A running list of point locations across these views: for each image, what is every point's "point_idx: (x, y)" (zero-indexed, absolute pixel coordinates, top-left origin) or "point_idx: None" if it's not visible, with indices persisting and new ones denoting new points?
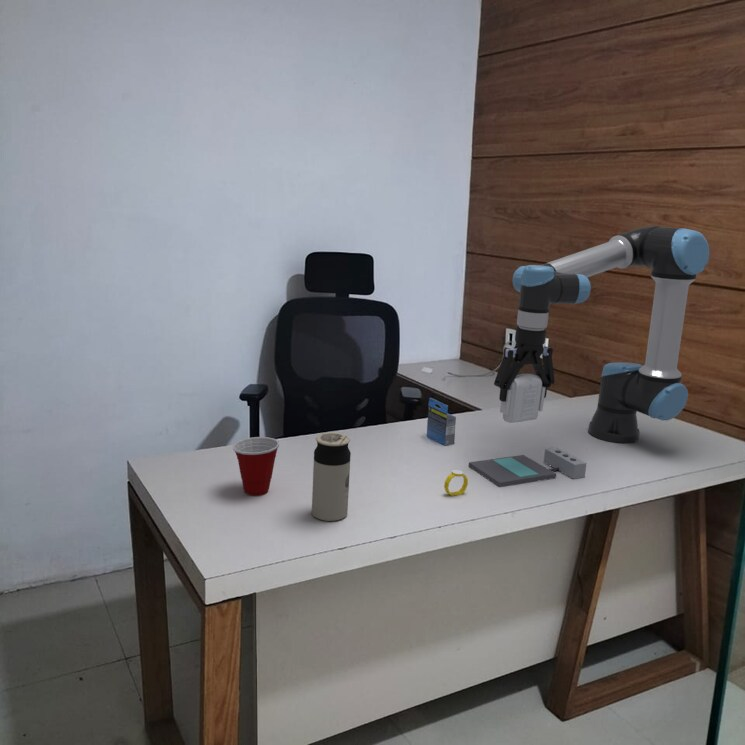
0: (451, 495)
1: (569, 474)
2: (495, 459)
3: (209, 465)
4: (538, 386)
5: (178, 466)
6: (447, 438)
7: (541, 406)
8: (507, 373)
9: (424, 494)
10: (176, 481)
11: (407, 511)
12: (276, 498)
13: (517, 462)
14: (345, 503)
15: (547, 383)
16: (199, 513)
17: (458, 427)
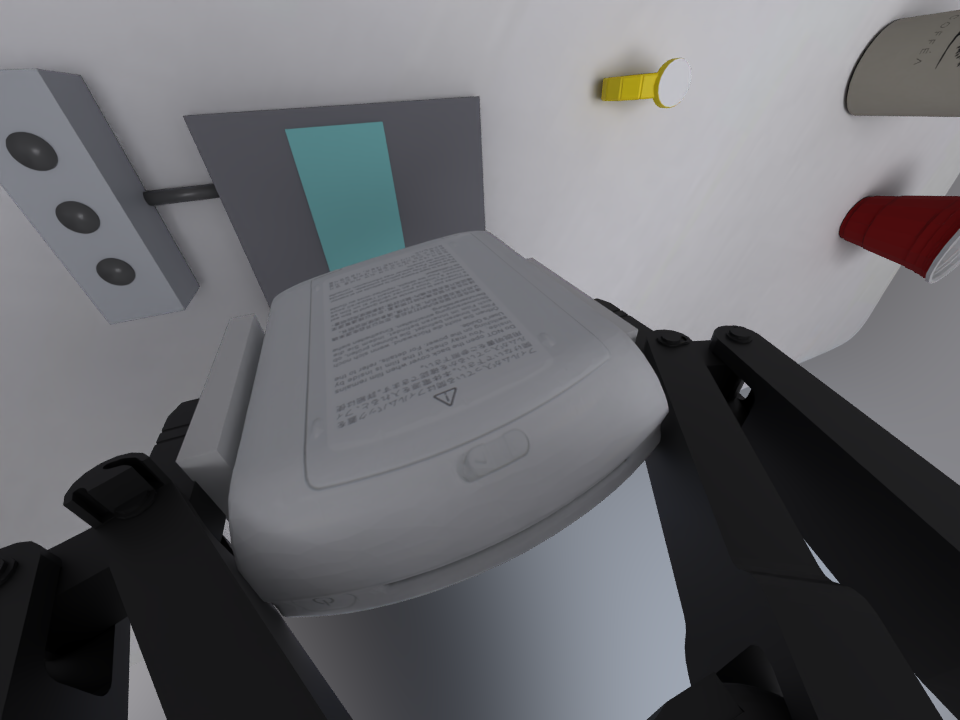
0: (639, 74)
1: (93, 107)
2: None
3: (820, 319)
4: (301, 433)
5: (842, 317)
6: None
7: (240, 334)
8: (824, 428)
9: (681, 113)
10: (879, 269)
11: (779, 10)
12: (863, 178)
13: (333, 260)
14: (929, 22)
15: (124, 518)
16: (952, 148)
17: None
